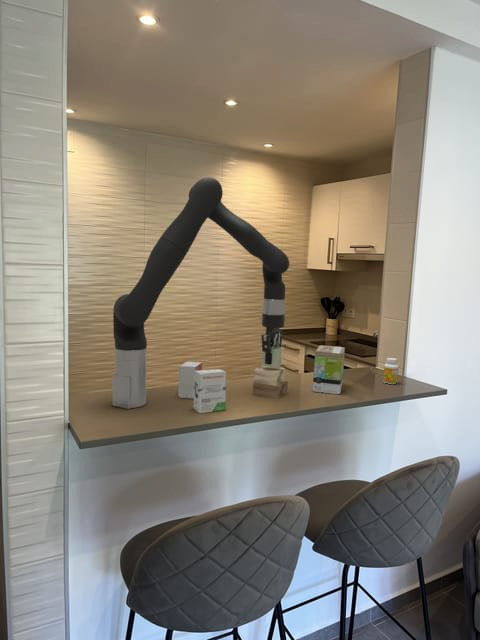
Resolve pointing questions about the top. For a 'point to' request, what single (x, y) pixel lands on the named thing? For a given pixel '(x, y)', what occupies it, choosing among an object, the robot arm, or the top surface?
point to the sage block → (273, 357)
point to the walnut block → (270, 390)
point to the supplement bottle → (391, 371)
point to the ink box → (209, 390)
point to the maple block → (269, 375)
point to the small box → (187, 378)
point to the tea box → (328, 369)
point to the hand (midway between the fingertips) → (271, 362)
